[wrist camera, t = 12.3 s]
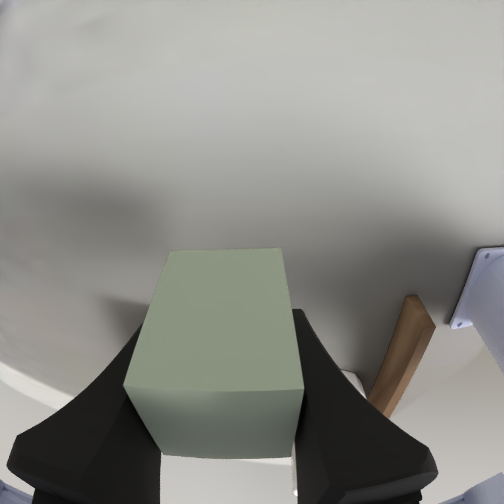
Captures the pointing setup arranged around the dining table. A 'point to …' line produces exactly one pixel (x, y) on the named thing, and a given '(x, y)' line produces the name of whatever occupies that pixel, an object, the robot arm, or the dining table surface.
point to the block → (219, 357)
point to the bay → (402, 355)
